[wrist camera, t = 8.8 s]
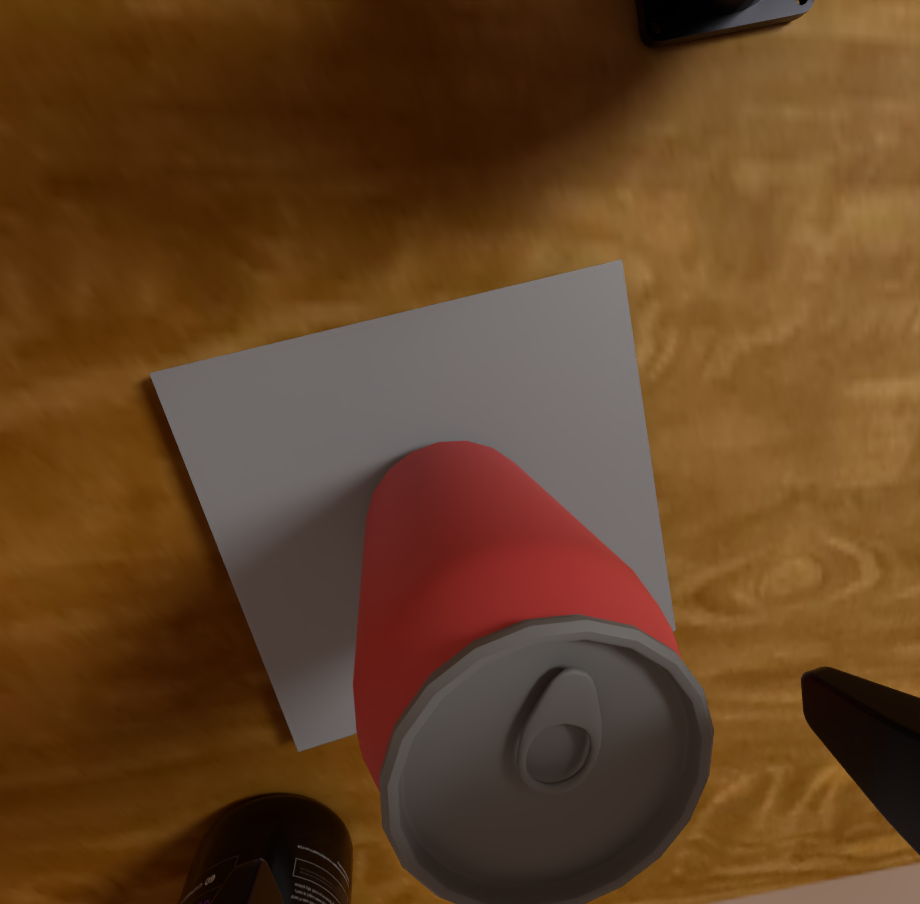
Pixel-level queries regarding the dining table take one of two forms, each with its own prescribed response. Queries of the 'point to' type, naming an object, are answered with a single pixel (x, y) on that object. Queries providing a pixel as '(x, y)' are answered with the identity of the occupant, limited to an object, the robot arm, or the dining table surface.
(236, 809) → the supplement bottle
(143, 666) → the dining table surface
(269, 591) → the slate board
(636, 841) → the beer can
